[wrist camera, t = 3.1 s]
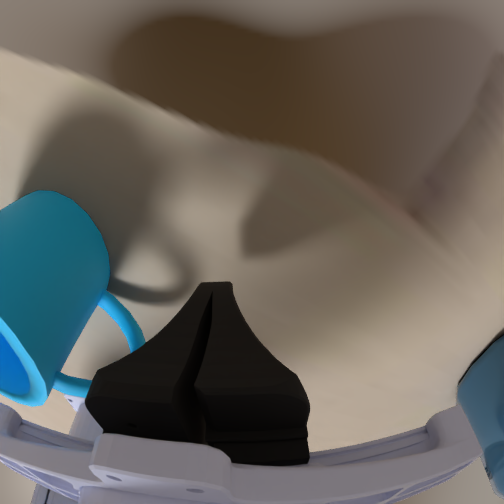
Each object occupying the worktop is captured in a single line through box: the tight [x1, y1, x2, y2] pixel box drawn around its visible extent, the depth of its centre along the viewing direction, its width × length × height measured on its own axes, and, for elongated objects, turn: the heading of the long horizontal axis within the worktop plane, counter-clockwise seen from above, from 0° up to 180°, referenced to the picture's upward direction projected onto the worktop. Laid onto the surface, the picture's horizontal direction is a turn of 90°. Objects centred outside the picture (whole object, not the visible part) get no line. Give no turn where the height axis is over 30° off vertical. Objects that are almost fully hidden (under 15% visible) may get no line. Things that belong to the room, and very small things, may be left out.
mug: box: [0, 190, 146, 407], centre depth 12 cm, size 12×8×8 cm
